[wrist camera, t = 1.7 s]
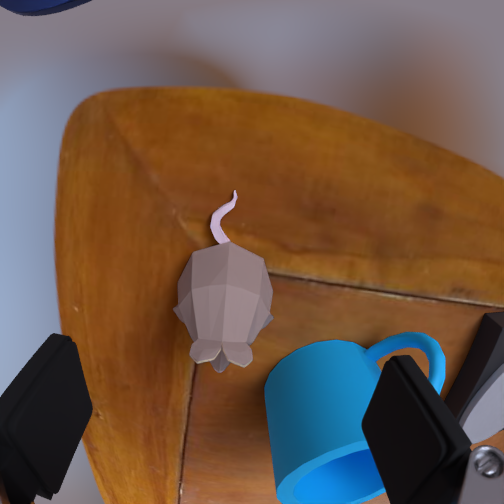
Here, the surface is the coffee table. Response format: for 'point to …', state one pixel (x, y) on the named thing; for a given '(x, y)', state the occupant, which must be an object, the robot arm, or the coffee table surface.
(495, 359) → the kitchen scale
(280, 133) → the coffee table surface
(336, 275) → the coffee table surface
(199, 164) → the coffee table surface
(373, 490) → the mug
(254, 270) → the mouse figurine
